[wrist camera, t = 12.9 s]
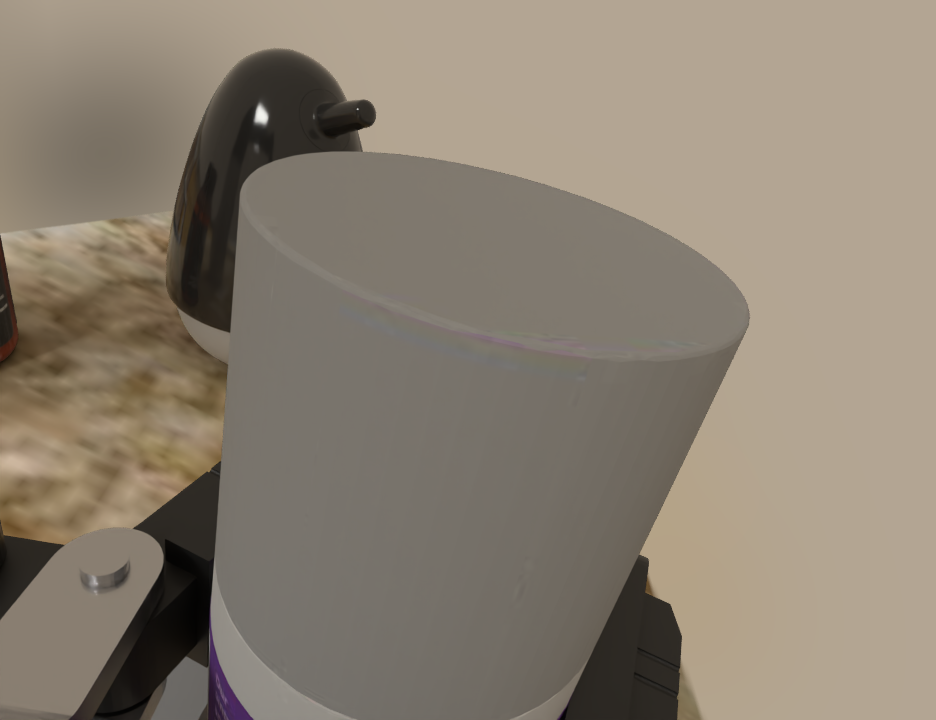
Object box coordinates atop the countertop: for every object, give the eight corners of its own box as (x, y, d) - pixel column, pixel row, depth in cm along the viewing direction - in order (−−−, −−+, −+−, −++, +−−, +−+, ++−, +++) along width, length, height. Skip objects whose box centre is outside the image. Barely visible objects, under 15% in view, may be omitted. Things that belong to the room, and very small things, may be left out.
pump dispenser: (244, 430, 28) (262, 71, 20) (130, 328, 32) (109, 7, 25) (400, 366, 35) (456, 89, 28) (289, 291, 40) (310, 36, 32)
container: (472, 970, 12) (877, 337, 5) (233, 1156, 10) (364, 417, 3) (379, 749, 16) (545, 166, 8) (180, 846, 13) (170, 125, 6)
